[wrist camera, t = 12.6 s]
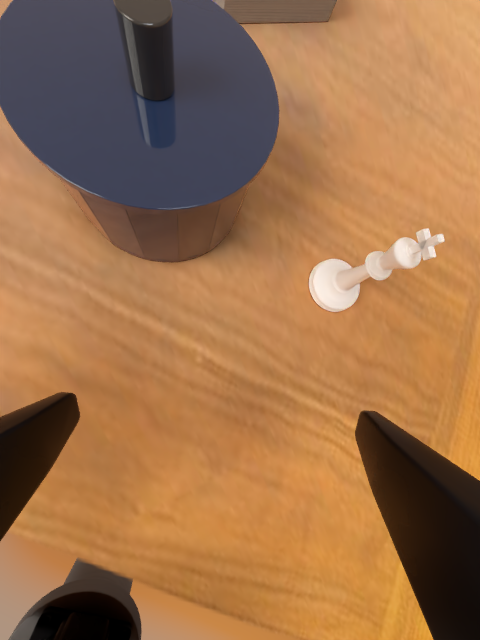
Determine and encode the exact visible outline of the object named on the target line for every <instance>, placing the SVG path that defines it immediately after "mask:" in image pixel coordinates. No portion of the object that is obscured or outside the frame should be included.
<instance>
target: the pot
mask: <svg viewBox="0 0 480 640" xmlns="http://www.w3.org/2000/svg"><path fill="white" fill-rule="evenodd" d="M60 180H61V179H60ZM61 182H62V183H63V184H64V186H65V187H66V189H67V190H68V191H69V193H70V194H71V196H72V197H73V198H74V200H75V201H76V203H77V204H78V205H79V207H80V208H81V210H82V211H83V212H84V214H85V215H86V217H87V218H88V219H89V221H90V222H91V223H92V224H93V225H94V226H95V227H96V228H97V229H98V230H99V231H100V232H101V234H102V235H103V236H104V237H106V238H107V239H108V240H109V241H110V242H111V243H112V244H114V245H116V246H117V247H119V248H120V249H122V250H124V251H126V252H128V253H130V254H132V255H134V256H137V257H140V258H143V259H147V260H151V261H158V262H179V261H185V260H189V259H193V258H196V257H198V256H201V255H203V254H205V253H207V252H208V251H210V250H212V249H213V248H214V247H216V246H217V245H218V244H219V243H220V242H221V241H222V240H223V239H224V238H225V237H226V235H227V234H229V232H230V230H231V228H232V226H233V224H234V221H235V219H236V217H237V214H238V212H239V210H240V207H241V205H242V202H243V199H244V197H245V194H246V192H247V189H248V187H249V185H248V186H247V187H246V188H245V189H244V190H242V191H241V192H240V193H238V194H237V195H236V196H234V197H233V198H231V199H229V200H227V201H225V202H223V203H221V204H219V205H216V206H213V207H210V208H208V209H205V210H201V211H196V212H191V213H185V214H172V215H163V214H147V213H141V212H134V211H129V210H126V209H122V208H118V207H115V206H111V205H109V204H106V203H104V202H101V201H99V200H96V199H94V198H91V197H89V196H87V195H85V194H84V193H82V192H80V191H78V190H76V189H74V188H72V187H71V186H69V185H68V184H67V183H65V182H64V181H62V180H61Z"/></svg>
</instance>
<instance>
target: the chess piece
mask: <svg viewBox="0 0 480 640" xmlns="http://www.w3.org/2000/svg"><path fill="white" fill-rule="evenodd" d="M416 235H417V239H418V243H417V242H416V241H414V240H413V239H411V238H408V237H403V238H400V239H398V240H397V241H396V242H395V243H394V244H393V245H392V246H391V247H390V248H389V249H388V250H387V251H386V252H385V253H384V252H381V251H375V252H371V253H370V254H369V255H368V256H367V257H366V260H365V264H364V265H361V266H358V267H354V268H352V267H351V266H350V265H349V264H348V263H346V262H344V261H342V260H339V259H328V260H325V261H323V262H320V263H319V264H317V265H316V266H315V267H314V268H313V270H312V272H311V274H310V277H309V289H310V293H311V295H312V297H313V299H314V300H315V302H316V303H317V304H318V305H319V306H320V307H322V308H323V309H325V310H328V311H331V312H339V311H343V310H345V309H347V308H349V307H350V306H352V305H353V304H354V303H355V301H356V300H357V298H358V295H359V291H360V282H362V281H364V280H366V279H367V278H369V277H372V278H373V279H376V280H384V279H386V278H387V277H388V276H389V275H390V274H391V272H392V269H411V268H414V267H416V266H417V265H418V264H419V263H420V261H421V256H422V257H423V260H429V259H432V258H434V257H436V253H435V250H434V246H435V245H437V244H440V243H442V242H445V240H444V236H443V234H437V235H435V236H432V237H431V235H430V232H429V228H428V229H422V230H420V231H418V232H416Z"/></svg>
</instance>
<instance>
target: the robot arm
mask: <svg viewBox="0 0 480 640" xmlns="http://www.w3.org/2000/svg"><path fill="white" fill-rule="evenodd" d="M79 418H80V412H79V407H78V403H77V398H76V395H75V394H73V393H66V392H60V393H57V394H55V395H52V396H50V397H47V398H45V399H43V400H40V401H38V402H35V403H33V404H31V405H28V406H26V407H23V408H21V409H19V410H16V411H14V412H11V413H9V414H7V415H4V416H2V417H0V541H1V539H2V538H3V537H4V535H5V534H6V532H7V531H8V530H9V528H10V527H11V525H12V524H13V523H14V521H15V520H16V518H17V517H18V515H19V514H20V513H21V511H22V510H23V508H24V507H25V505H26V504H27V503H28V501H29V500H30V498H31V497H32V495H33V494H34V493H35V491H36V490H37V488H38V487H39V485H40V484H41V483H42V481H43V480H44V478H45V477H46V475H47V474H48V472H49V471H50V469H51V468H52V466H53V464H54V463H55V461H56V459H57V458H58V456H59V454H60V452H61V451H62V449H63V447H64V446H65V444H66V442H67V440H68V439H69V437H70V435H71V434H72V432H73V430H74V428H75V427H76V425H77V423H78V421H79ZM355 437H356V441H357V445H358V448H359V451H360V454H361V458H362V461H363V464H364V467H365V471H366V474H367V477H368V480H369V483H370V486H371V489H372V492H373V495H374V497H375V500H376V502H377V505H378V507H379V510H380V512H381V514H382V517H383V519H384V522H385V524H386V526H387V529H388V531H389V534H390V536H391V538H392V541H393V543H394V546H395V548H396V550H397V553H398V555H399V558H400V560H401V562H402V565H403V567H404V570H405V572H406V574H407V577H408V579H409V582H410V584H411V586H412V589H413V591H414V594H415V596H416V598H417V601H418V603H419V606H420V608H421V610H422V613H423V615H424V618H425V620H426V622H427V625H428V627H429V630H430V632H431V634H432V637H433V639H434V640H480V481H479V480H477V479H476V478H474V477H473V476H471V475H470V474H469V473H467V472H466V471H464V470H463V469H461V468H460V467H458V466H457V465H455V464H454V463H452V462H451V461H449V460H448V459H446V458H445V457H443V456H442V455H440V454H439V453H437V452H436V451H434V450H433V449H431V448H430V447H428V446H427V445H425V444H424V443H422V442H421V441H419V440H418V439H416V438H415V437H413V436H412V435H410V434H409V433H407V432H406V431H404V430H403V429H401V428H400V427H398V426H397V425H395V424H394V423H392V422H391V421H389V420H388V419H386V418H385V417H383V416H382V415H380V414H379V413H377V412H375V411H362V412H361V413H360V415H359V419H358V423H357V427H356V431H355ZM45 616H49V617H50V618H48V619H47V618H45ZM123 631H126V633H122V632H123ZM131 631H132V624H131V623H130V622H128V621H124V620H119V619H114V618H109V617H104V616H99V615H94V614H89V613H84V612H79V611H74V610H69V609H64V608H59V607H54V606H49V607H47V608H45V609H44V610H43V612H42V613H41V615H40V617H39V619H38V621H37V623H36V626H35V628H34V630H33V632H32V635H31V637H30V639H29V640H129V639H130V636H131Z"/></svg>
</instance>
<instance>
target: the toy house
mask: <svg viewBox="0 0 480 640" xmlns="http://www.w3.org/2000/svg"><path fill="white" fill-rule="evenodd" d="M213 1H214V2H215V3H216V4H218V5H219V6H220V7H221V8H223V9H224V10H225V11H226V12H227V13H228V14H230V15H231V16H232V17H233V18H234V19H235V20H236V21H237V22H238V23H273V22H323V21H328V20H329V17H330V15H331V13H332V10H333V8H334V6H335V3H336V1H337V0H213Z"/></svg>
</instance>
